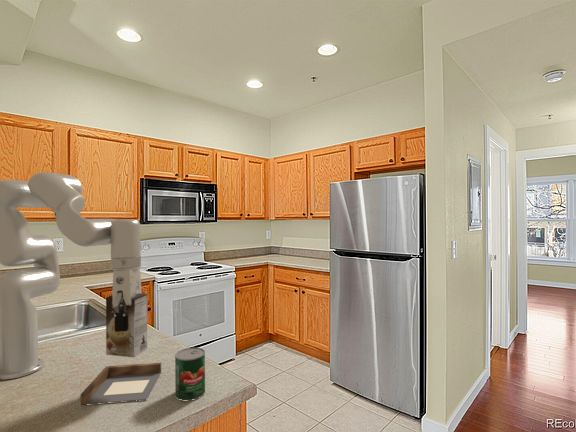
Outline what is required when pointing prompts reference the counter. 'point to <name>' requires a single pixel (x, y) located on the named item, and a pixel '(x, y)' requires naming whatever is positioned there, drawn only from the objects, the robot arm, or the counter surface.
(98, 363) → the counter surface
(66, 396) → the counter surface
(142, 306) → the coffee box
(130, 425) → the counter surface
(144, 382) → the corner mat
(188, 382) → the canned tomato
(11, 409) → the counter surface
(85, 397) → the corner walls
